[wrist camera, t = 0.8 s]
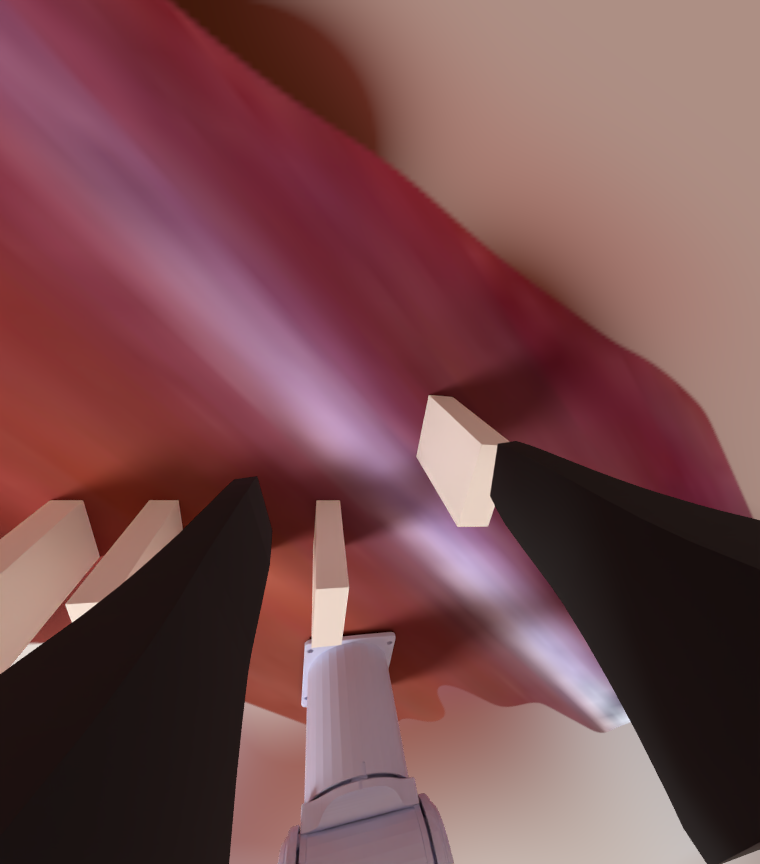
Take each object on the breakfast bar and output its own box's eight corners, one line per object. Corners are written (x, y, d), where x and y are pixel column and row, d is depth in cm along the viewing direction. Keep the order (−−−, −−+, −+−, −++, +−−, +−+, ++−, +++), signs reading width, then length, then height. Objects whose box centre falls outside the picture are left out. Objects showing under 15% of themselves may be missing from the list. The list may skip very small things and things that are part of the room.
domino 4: (438, 457, 21) (487, 526, 15) (416, 456, 21) (457, 526, 15) (452, 396, 20) (515, 446, 13) (428, 394, 19) (481, 444, 13)
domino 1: (99, 556, 20) (-2, 680, 14) (70, 557, 19) (-48, 684, 13) (83, 500, 18) (-42, 611, 12) (50, 500, 18) (-97, 614, 11)
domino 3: (335, 548, 23) (341, 644, 17) (313, 549, 23) (311, 647, 16) (339, 500, 21) (349, 587, 15) (316, 500, 21) (315, 589, 15)
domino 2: (186, 553, 21) (130, 666, 15) (159, 554, 20) (90, 670, 14) (178, 500, 19) (111, 601, 13) (149, 500, 19) (64, 604, 13)
